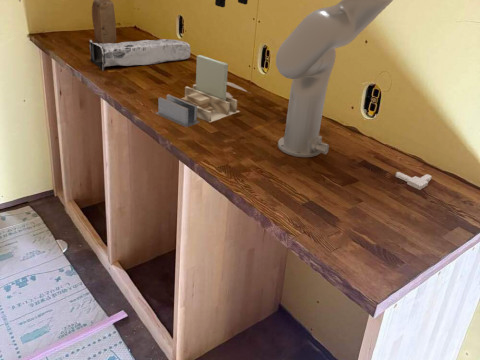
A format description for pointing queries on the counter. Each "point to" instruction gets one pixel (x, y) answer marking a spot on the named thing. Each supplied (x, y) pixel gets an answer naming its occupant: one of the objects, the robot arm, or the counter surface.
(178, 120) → the stand
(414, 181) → the corner connector
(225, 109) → the rack
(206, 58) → the grey-green panel
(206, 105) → the offcut stack
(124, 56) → the concrete block
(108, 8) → the block
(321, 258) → the counter surface
